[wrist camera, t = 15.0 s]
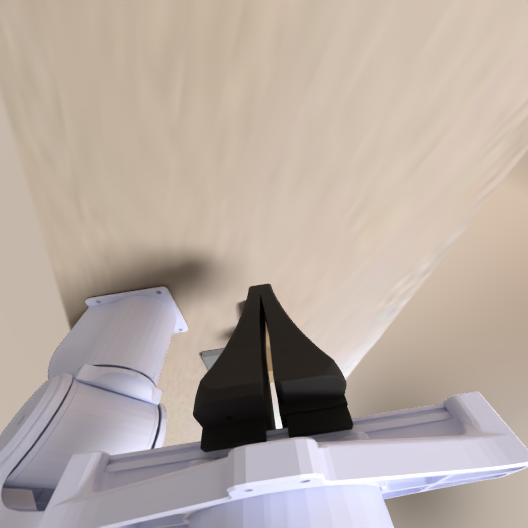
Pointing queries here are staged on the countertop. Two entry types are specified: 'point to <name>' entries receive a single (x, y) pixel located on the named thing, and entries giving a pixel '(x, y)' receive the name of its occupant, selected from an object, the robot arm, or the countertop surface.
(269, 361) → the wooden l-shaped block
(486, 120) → the countertop surface
